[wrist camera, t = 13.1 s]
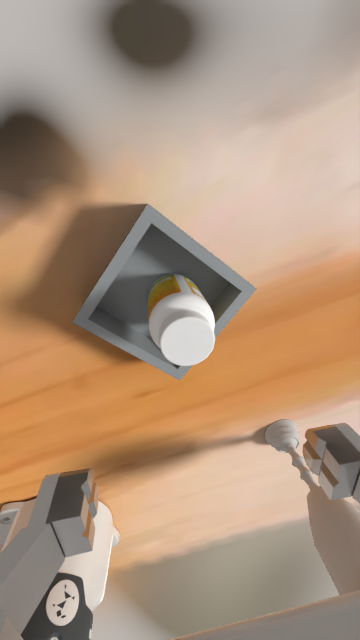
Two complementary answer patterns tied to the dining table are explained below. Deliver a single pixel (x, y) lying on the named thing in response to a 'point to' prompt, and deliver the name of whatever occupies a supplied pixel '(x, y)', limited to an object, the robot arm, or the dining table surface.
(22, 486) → the dining table surface
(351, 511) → the chalice
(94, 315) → the tray
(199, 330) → the supplement bottle
